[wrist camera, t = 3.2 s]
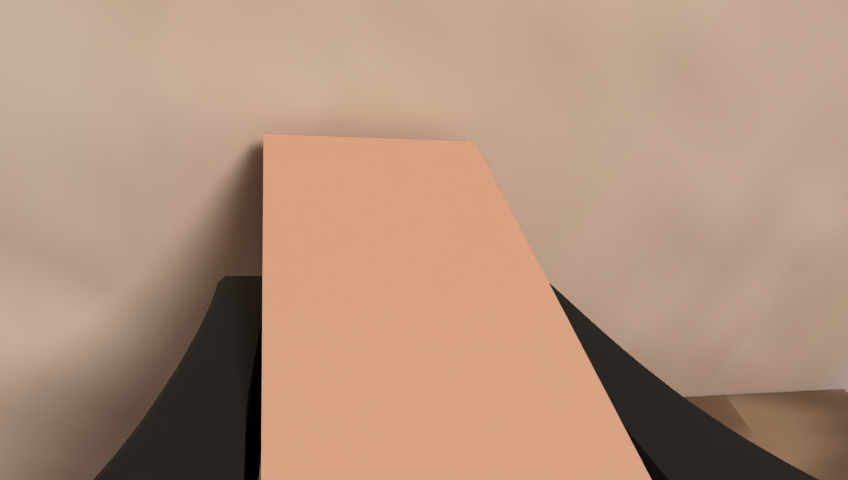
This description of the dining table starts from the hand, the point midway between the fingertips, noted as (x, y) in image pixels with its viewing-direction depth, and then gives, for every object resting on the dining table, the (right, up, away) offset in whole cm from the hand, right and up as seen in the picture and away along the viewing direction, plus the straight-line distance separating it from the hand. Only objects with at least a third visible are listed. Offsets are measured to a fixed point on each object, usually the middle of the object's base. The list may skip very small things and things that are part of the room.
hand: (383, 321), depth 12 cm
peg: (-1, +2, +2) cm, 3 cm away
